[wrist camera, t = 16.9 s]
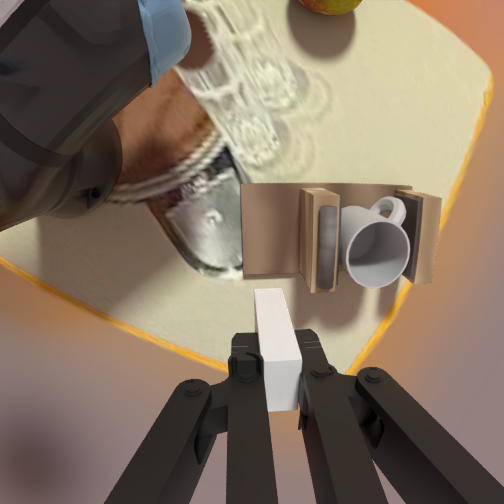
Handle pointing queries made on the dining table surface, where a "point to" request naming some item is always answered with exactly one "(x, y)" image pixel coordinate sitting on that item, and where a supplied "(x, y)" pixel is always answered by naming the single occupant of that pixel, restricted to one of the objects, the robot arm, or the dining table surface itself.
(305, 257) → the block
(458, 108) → the dining table surface
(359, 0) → the fruit
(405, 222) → the base
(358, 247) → the cup
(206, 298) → the dining table surface
